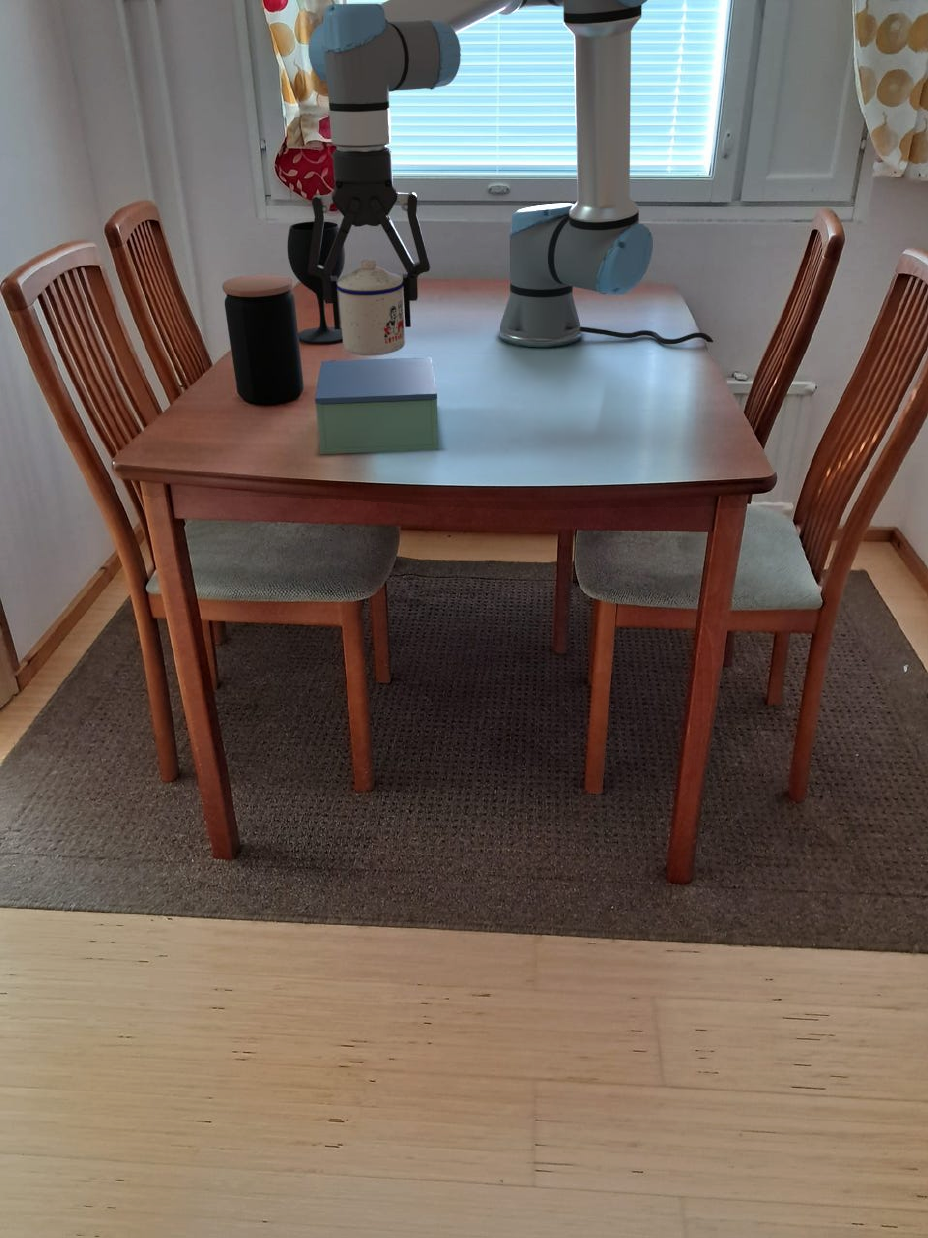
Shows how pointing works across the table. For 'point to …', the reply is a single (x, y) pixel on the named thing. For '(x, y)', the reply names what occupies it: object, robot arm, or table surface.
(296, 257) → the wine glass
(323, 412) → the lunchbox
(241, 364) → the coffee jar
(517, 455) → the table surface
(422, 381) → the lunchbox lid
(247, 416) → the table surface
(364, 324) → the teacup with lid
